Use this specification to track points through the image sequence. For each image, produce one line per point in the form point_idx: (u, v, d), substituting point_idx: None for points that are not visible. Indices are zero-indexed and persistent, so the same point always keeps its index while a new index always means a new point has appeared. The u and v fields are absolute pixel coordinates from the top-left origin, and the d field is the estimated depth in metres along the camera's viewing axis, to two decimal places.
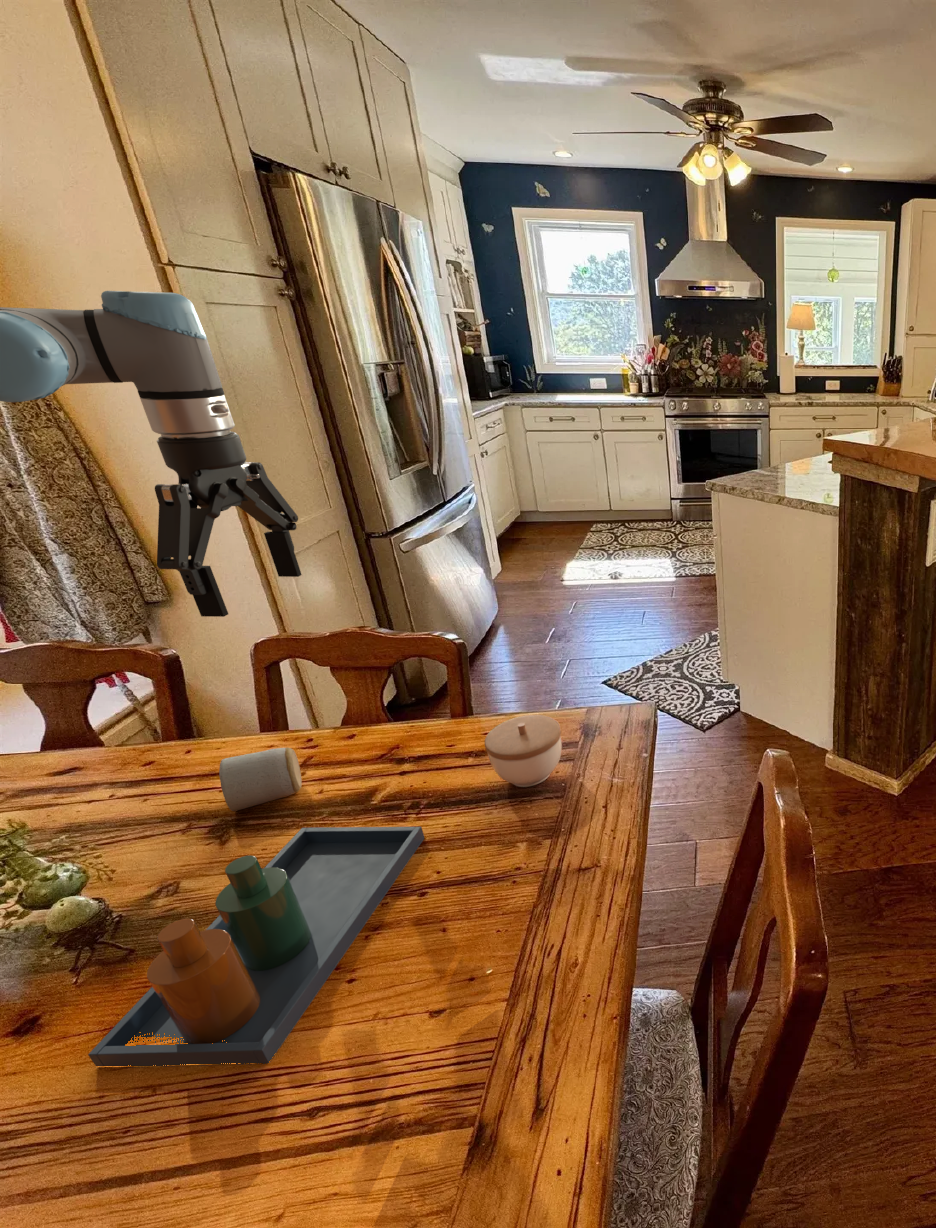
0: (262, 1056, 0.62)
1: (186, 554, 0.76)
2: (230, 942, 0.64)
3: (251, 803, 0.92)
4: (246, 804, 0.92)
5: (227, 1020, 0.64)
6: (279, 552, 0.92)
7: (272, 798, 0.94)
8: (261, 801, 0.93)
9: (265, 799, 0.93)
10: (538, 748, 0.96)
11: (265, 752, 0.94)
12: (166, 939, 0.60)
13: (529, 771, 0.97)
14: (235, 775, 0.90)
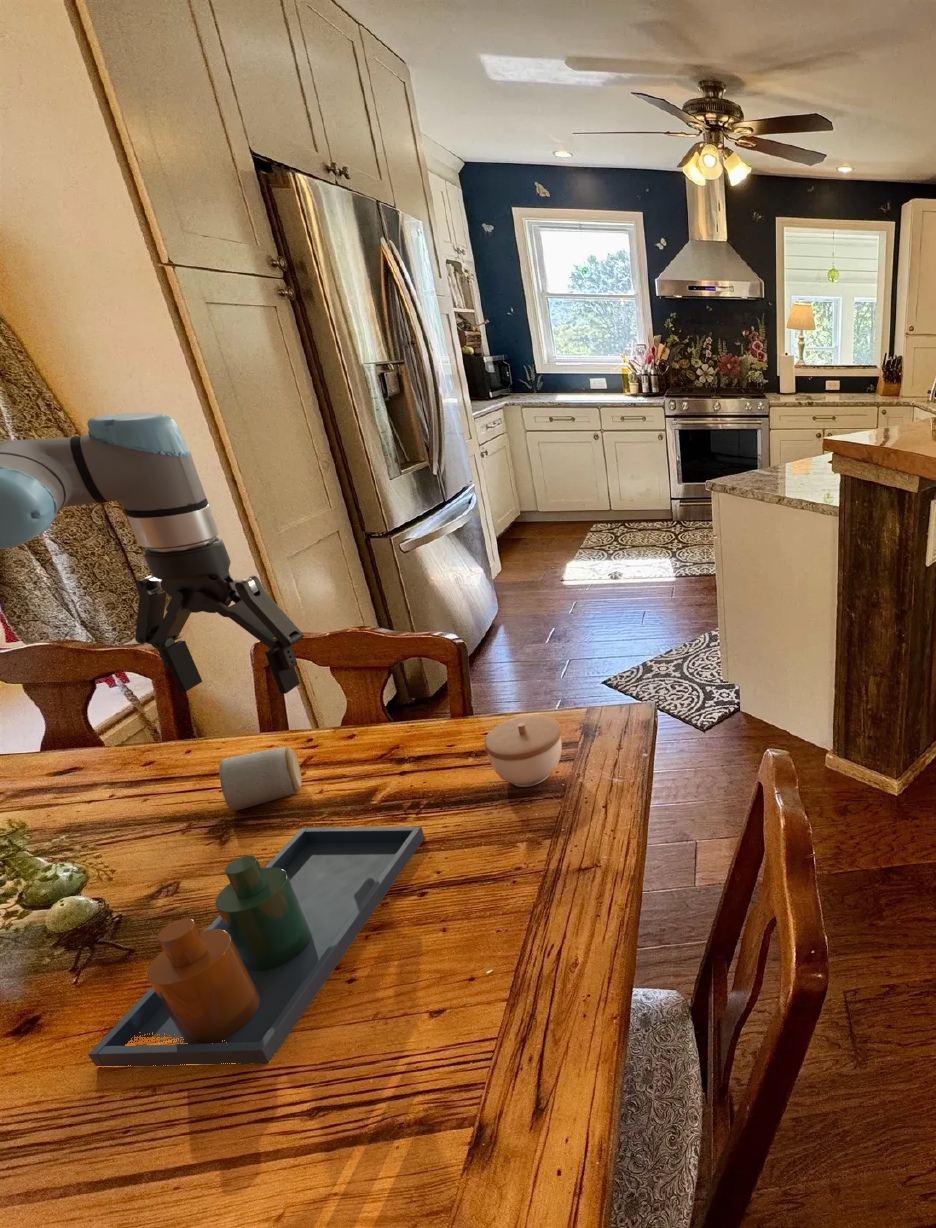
0: (262, 1056, 0.62)
1: None
2: (230, 942, 0.64)
3: (251, 803, 0.92)
4: (246, 804, 0.92)
5: (227, 1020, 0.64)
6: (183, 663, 0.89)
7: (272, 798, 0.94)
8: (261, 801, 0.93)
9: (265, 799, 0.93)
10: (538, 748, 0.96)
11: (265, 752, 0.94)
12: (166, 939, 0.60)
13: (528, 771, 0.97)
14: (235, 775, 0.90)
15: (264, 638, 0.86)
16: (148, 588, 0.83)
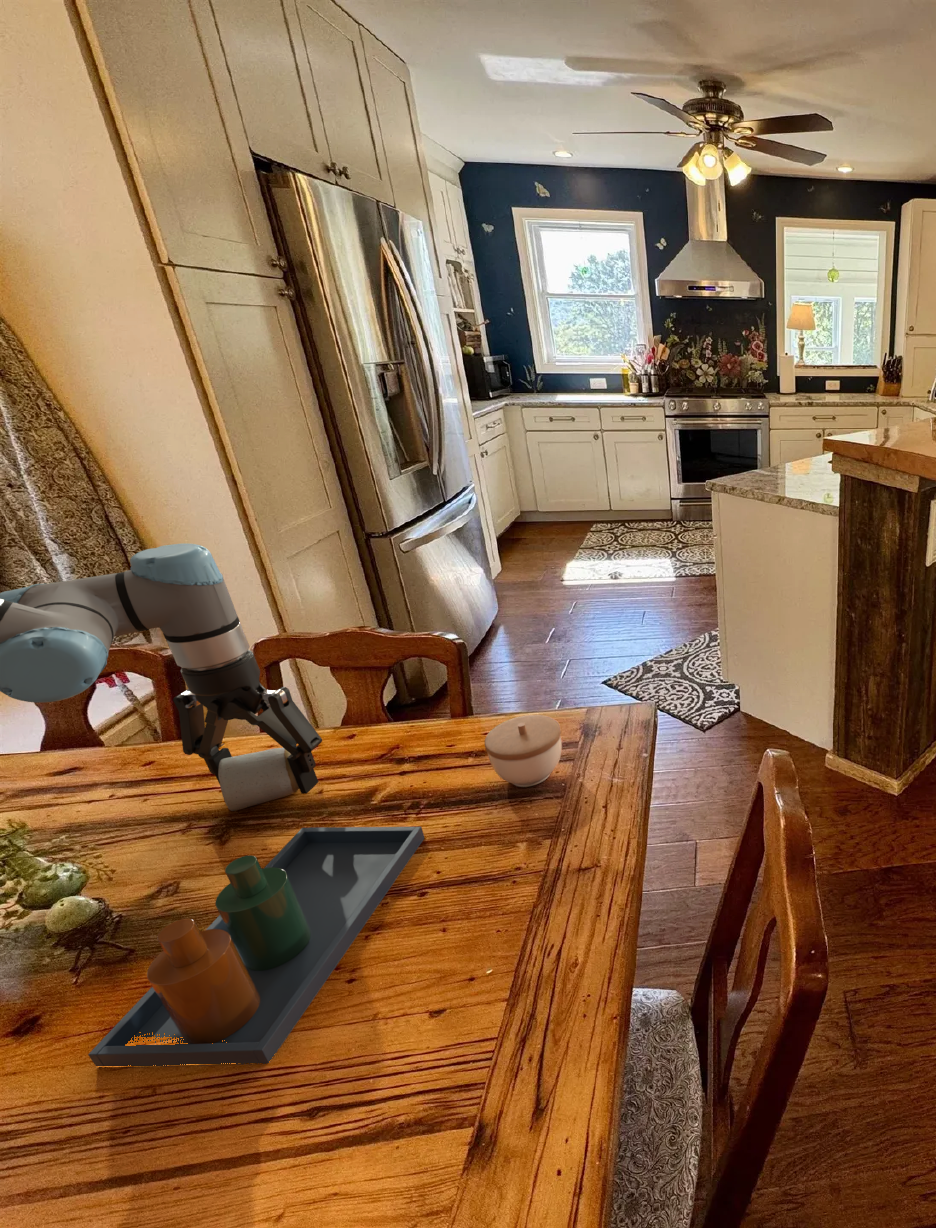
0: (262, 1056, 0.62)
1: None
2: (230, 942, 0.64)
3: (251, 803, 0.92)
4: (245, 804, 0.92)
5: (227, 1020, 0.64)
6: None
7: (271, 798, 0.94)
8: (260, 801, 0.93)
9: (264, 799, 0.93)
10: (538, 748, 0.96)
11: (264, 752, 0.94)
12: (166, 939, 0.60)
13: (529, 771, 0.97)
14: (234, 775, 0.91)
15: (288, 745, 0.92)
16: (185, 703, 0.89)
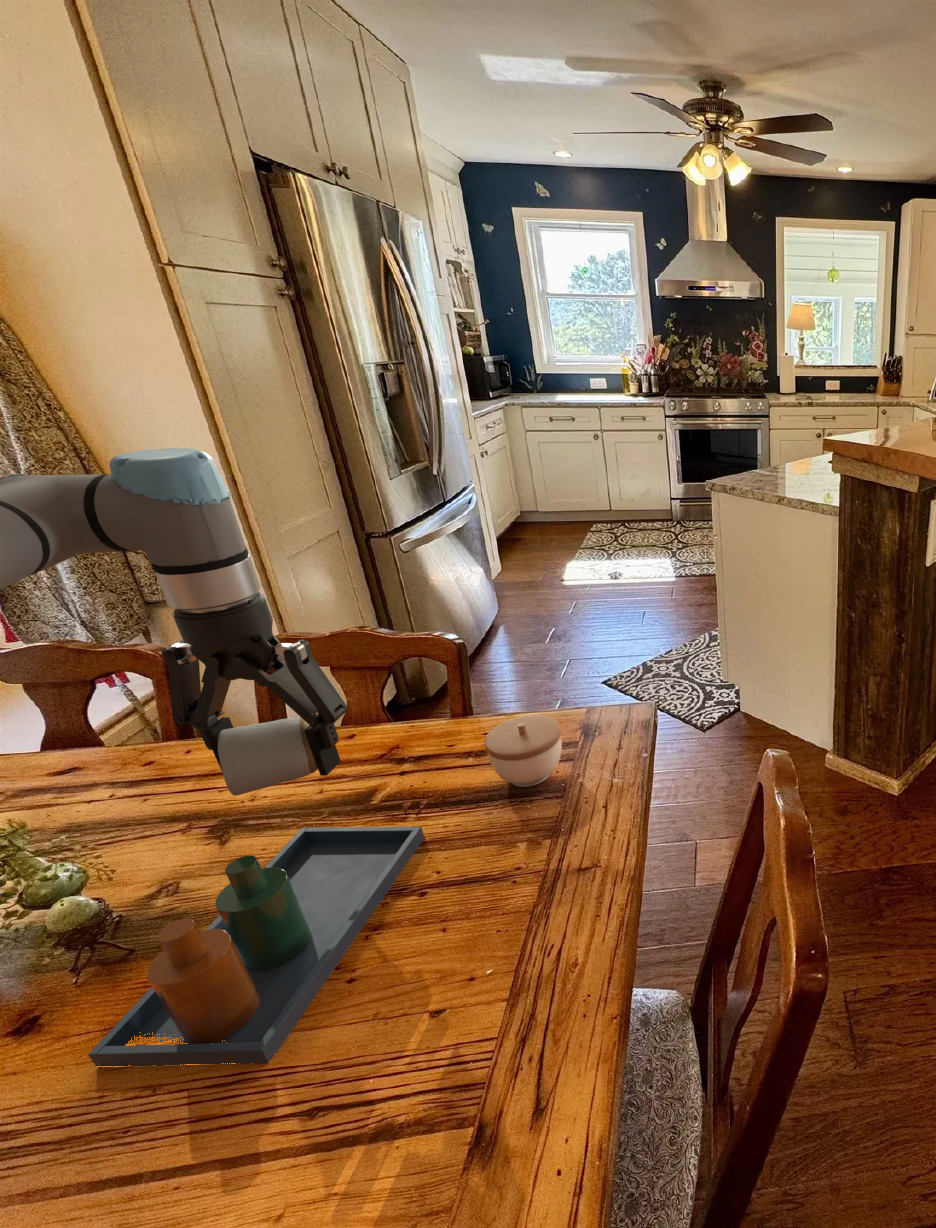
0: (262, 1056, 0.62)
1: None
2: (230, 942, 0.64)
3: (258, 785, 0.74)
4: (251, 787, 0.73)
5: (227, 1020, 0.64)
6: None
7: (284, 780, 0.75)
8: (270, 783, 0.74)
9: (275, 781, 0.75)
10: (538, 748, 0.96)
11: (275, 722, 0.76)
12: (166, 939, 0.60)
13: (529, 771, 0.97)
14: (238, 750, 0.72)
15: (306, 713, 0.74)
16: (177, 657, 0.70)
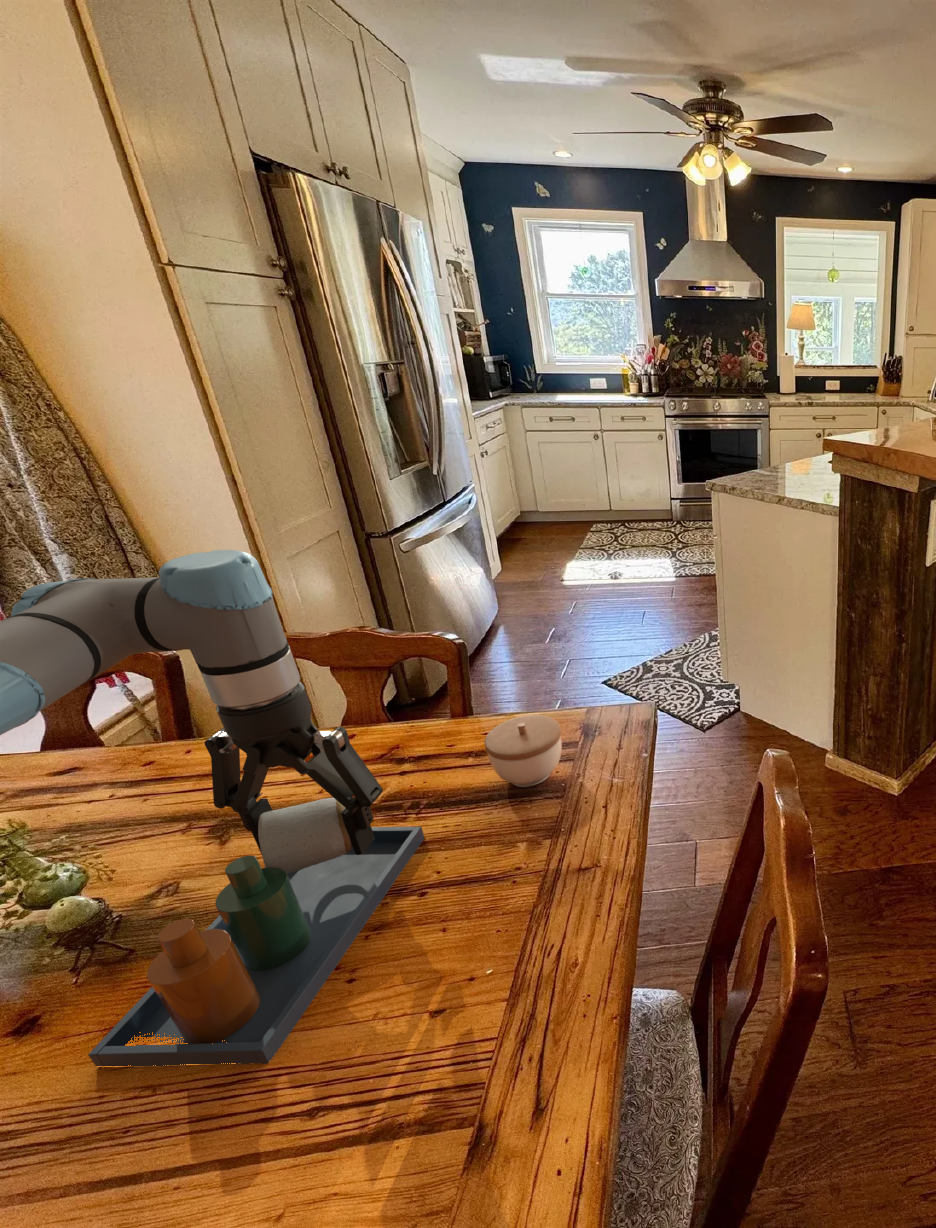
0: (262, 1056, 0.62)
1: None
2: (230, 942, 0.64)
3: (296, 868, 0.75)
4: (290, 870, 0.75)
5: (227, 1020, 0.64)
6: None
7: (321, 861, 0.77)
8: (308, 865, 0.76)
9: (312, 863, 0.76)
10: (538, 748, 0.96)
11: (312, 804, 0.77)
12: (166, 939, 0.60)
13: (529, 771, 0.97)
14: (278, 835, 0.73)
15: (343, 798, 0.75)
16: (219, 746, 0.72)
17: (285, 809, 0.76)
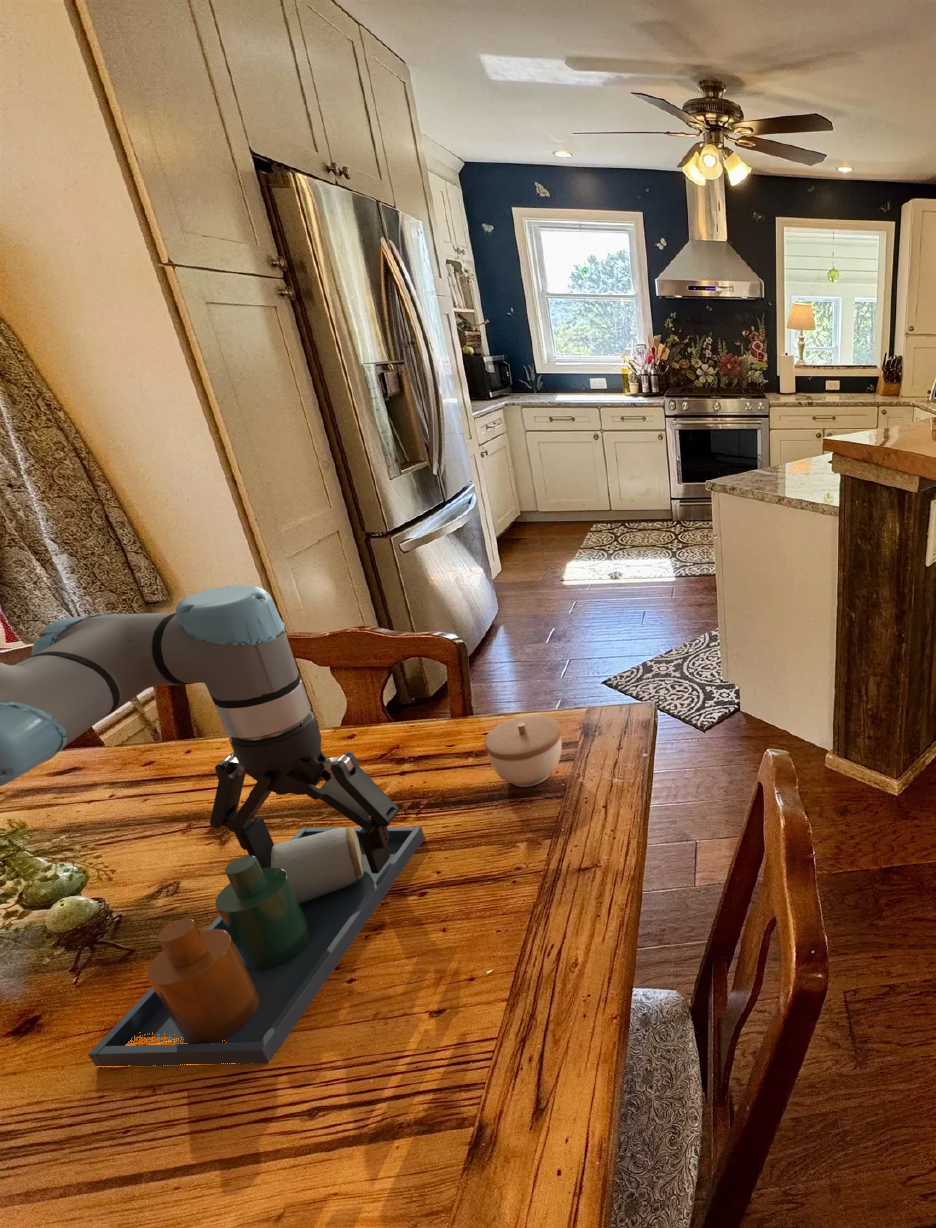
0: (262, 1056, 0.62)
1: None
2: (230, 942, 0.64)
3: (308, 898, 0.77)
4: (302, 900, 0.77)
5: (227, 1020, 0.64)
6: (261, 843, 0.79)
7: (332, 890, 0.79)
8: (319, 895, 0.78)
9: (324, 892, 0.78)
10: (538, 748, 0.96)
11: (323, 835, 0.79)
12: (166, 939, 0.60)
13: (529, 771, 0.97)
14: (290, 867, 0.75)
15: (359, 819, 0.77)
16: (229, 772, 0.73)
17: (297, 840, 0.78)
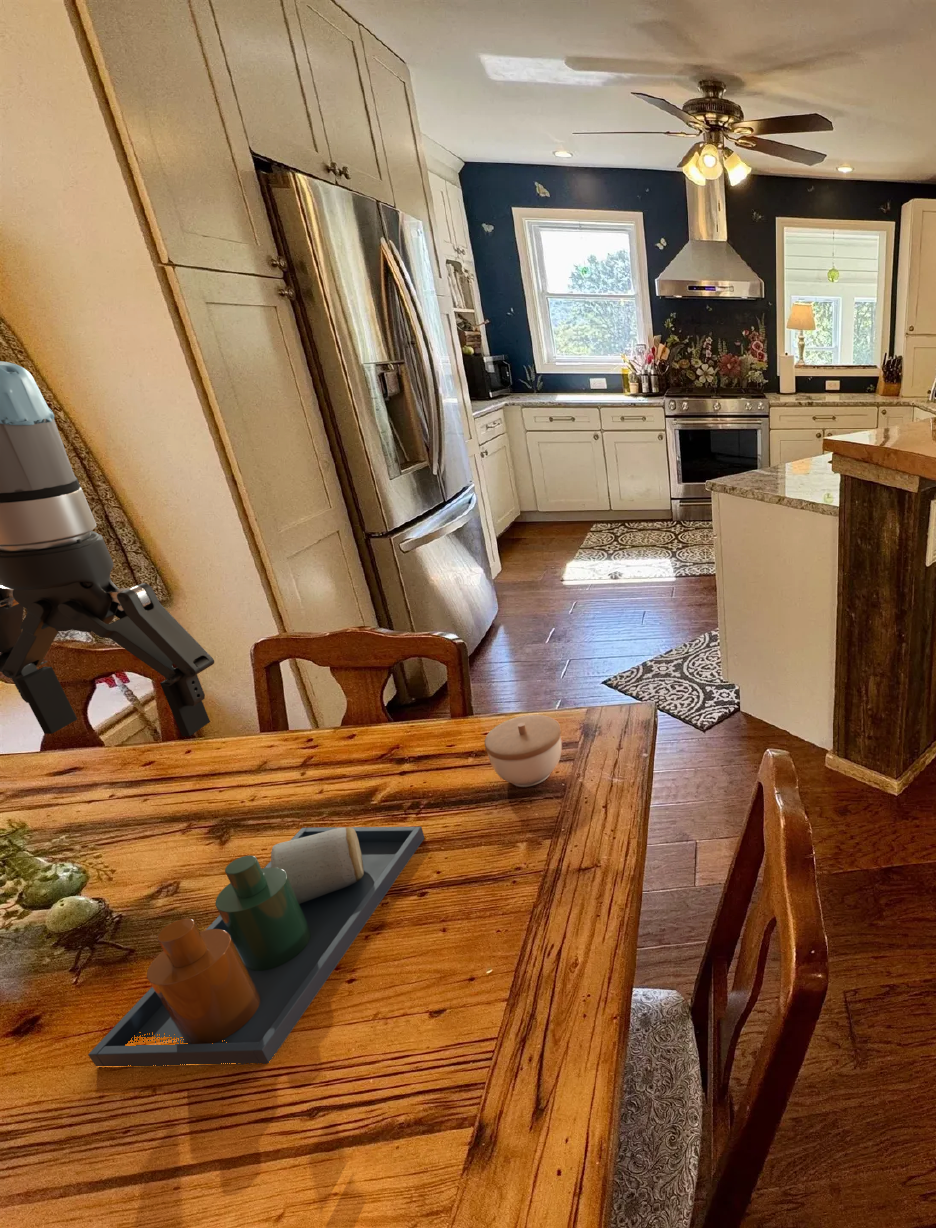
0: (262, 1056, 0.62)
1: None
2: (230, 942, 0.64)
3: (308, 898, 0.77)
4: (302, 900, 0.77)
5: (227, 1020, 0.64)
6: (49, 697, 0.68)
7: (332, 890, 0.79)
8: (319, 895, 0.78)
9: (324, 892, 0.78)
10: (538, 748, 0.96)
11: (323, 835, 0.79)
12: (166, 939, 0.60)
13: (529, 771, 0.97)
14: (290, 867, 0.75)
15: (159, 665, 0.65)
16: None
17: (297, 840, 0.78)
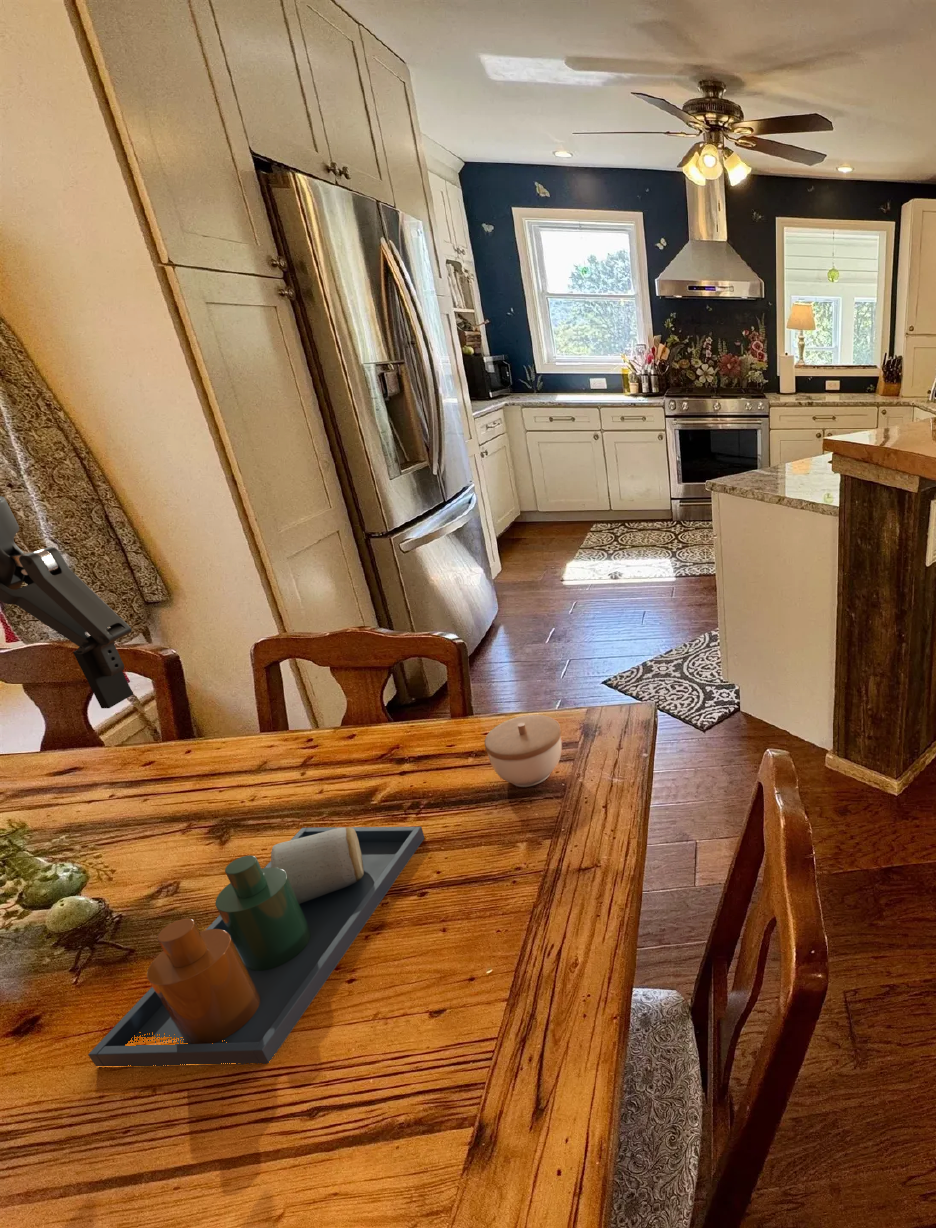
0: (262, 1056, 0.62)
1: None
2: (230, 942, 0.64)
3: (308, 898, 0.77)
4: (302, 900, 0.77)
5: (227, 1020, 0.64)
6: None
7: (332, 890, 0.79)
8: (319, 895, 0.78)
9: (324, 892, 0.78)
10: (538, 748, 0.96)
11: (323, 835, 0.79)
12: (166, 939, 0.60)
13: (529, 771, 0.97)
14: (290, 867, 0.75)
15: (70, 633, 0.63)
16: None
17: (297, 840, 0.78)
